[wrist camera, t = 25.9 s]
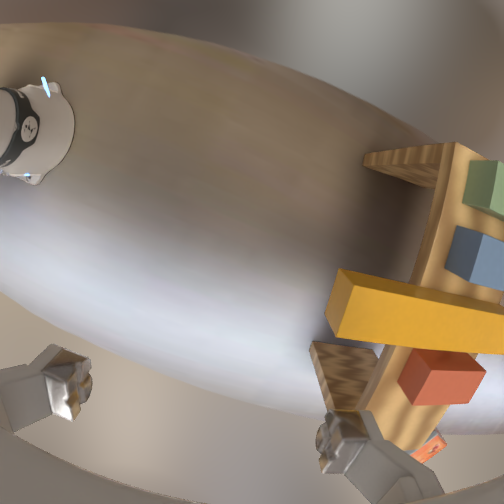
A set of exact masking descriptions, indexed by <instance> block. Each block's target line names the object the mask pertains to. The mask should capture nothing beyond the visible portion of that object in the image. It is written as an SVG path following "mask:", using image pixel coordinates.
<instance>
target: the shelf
mask: <svg viewBox="0 0 504 504" xmlns="http://www.w3.org/2000/svg"><path fill="white" fill-rule="evenodd" d="M470 160H488V159H487V158H485V157H483V156H481V155H479V154H477V153H476V152H474V151H472V150H470V149H468V148H467V147H465V146H463V145H461V144H459V143H457V142H450V143H439V144H431V145H423V146H415V147H408V148H400V149H394V150H387V151H380V152H374V153H368V154H365V156H364V161H363V165H362V166H364V167H367V168H370V169H373V170H376V171H379V172H382V173H385V174H388V175H391V176H394V177H397V178H399V179H402V180H405V181H408V182H410V183H413V184H416V185H419V186H421V187H424V188H431V189H435V193H434V197H433V201H432V206H431V210H430V214H429V218H428V222H427V225H426V229H425V233H424V236H423V240H422V243H421V247H420V250H419V253H418V257H417V260H416V263H415V266H414V269H413V273H412V276H411V279H410V281H409V284H412V285H416V286H421V287H425V288H430V289H434V290H438V291H443V292H447V293H452V294H456V295H460V296H465V297H469V298H474V299H478V300H482V301H487V302H491V303H495V304H500V301H501V299H502V296H503V293H504V292H503V291H500V290H496V289H492V288H489V287H485V286H481V285H478V284H474V283H470V282H468V281H466V280H464V279H463V278H461V277H459V276H457V275H455V274H454V273H452V272H450V271H448V270H447V269H445V268H444V267H445V264H446V261H447V258H448V254H449V251H450V248H451V244H452V241H453V237H454V233H455V230H456V226H457V225H458V226H462V227H465V228H468V229H471V230H474V231H478V232H481V233H484V234H486V235H489V236H491V237H493V238H496V239H498V240H500V241H503V242H504V222H502V221H500V220H498V219H496V218H494V217H492V216H490V215H488V214H486V213H483V212H481V211H479V210H477V209H474V208H472V207H470V206H468V205H465V204H463V203H462V200H463V196H464V191H465V186H466V181H467V176H468V170H469V164H470ZM413 348H414V347H405V346H396V345H388V344H385V347H384V349H383V351H382V353H381V356H380V358H379V359H378V357H377V356H376V354H375V353H374V351H373V350H372V349H364V348H356V347H349V346H341V345H334V344H328V343H321V342H315V341H312V343H311V346H310V349H309V352H310V355H311V359H312V362H313V365H314V368H315V372H316V375H317V378H318V381H319V385H320V388H321V391H322V395H323V398H324V401H325V405H326V408H327V411H328V410H329V409H344V410H370V411H371V412H372V414H373V416H374V418H375V420H376V422H377V425H378V427H379V429H380V431H381V433H382V435H383V438H384V440H389V441H390V442H392V443H393V444H394V445H396V446H397V447H399V448H400V449H402V450H403V451H406V450H416V449H420V448H421V447H422V446H423V444H424V443H425V441H426V440H427V439H428V437H429V436H430V434H431V433H432V432H433V430H434V429H435V427H436V426H437V424H438V423H439V421H440V420H441V418H442V417H443V415H444V413H445V412H446V410H447V409H448V407H449V405H426V406H412V405H411V403H410V402H409V400H408V398H407V397H406V395H405V394H404V392H403V391H402V389H401V387H400V386H399V384H398V383H397V381H398V379H399V377H400V375H401V373H402V371H403V369H404V367H405V364H406V362H407V360H408V358H409V356H410V354H411V352H412V350H413ZM417 349H423V348H417ZM427 350H433V349H427ZM438 351H444V350H438ZM450 352H455V351H450ZM462 353H468V352H462ZM468 354H469V355H470V356H471V357H472V358H473V359H474V360H475V359H476V357H477V355H478V353H468Z"/></svg>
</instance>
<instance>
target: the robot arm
mask: <svg viewBox="0 0 504 504" xmlns="http://www.w3.org/2000/svg"><path fill="white" fill-rule="evenodd" d="M41 79H42V82H43V85H40V86H35V85H27V86H26V87H23V88H20V89H18V90H16V89H13V88H4V87H3V88H0V174H1V173H2V172H3V173H2V174H3V175H5V176H9V175H10V176H15V177H17V178H19V179H21V180H23V181H25V182H27V183H29V184H31V185H38V184H39V183H40V182H41V181H42V179H43V178H44V176H45V174H46V173H47V172H49V171H50V170H51V169H53V168H54V167H56V166H57V165H58V164H59V163H60V162H61V161H62V159H63V158H64V156H65V155H66V153H67V151H68V149H69V147H70V145H71V142H72V138H73V134H74V115H73V111H72V108H71V106H70V104H69V103H68V101H67V100H66V99H65V98H64V97H63V95H62V92H61V88H60V85H59V84H58V83H56V82H51V83H46V80H45V78H44V77H42V78H41ZM30 176H31V178H30ZM90 369H91V360H90V359H89V358H88V357H86V356H83V355H81V354H78V353H76V352H73V351H71V350H68V349H66V348H63V347H60V346H58V345H56V344H50V345H49V346H48V347H47V348H46V349H45V350H44V351H43V352H42V353H41V354H40V355H38V356H37V357H36V358H35V359H34V360H33V361H32V362H31V363H30V364H29V365H26V364H23V365H19V366H14V367H10V368H5V369H1V370H0V504H205V503H199V502H194V501H189V500H184V499H180V498H175V497H171V496H167V495H162V494H159V493H154V492H151V491H147V490H144V489H140V488H137V487H133V486H130V485H127V484H124V483H121V482H118V481H115V480H112V479H109V478H106V477H104V476H101V475H98V474H96V473H93V472H91V471H88V470H86V469H83V468H81V467H78V466H76V465H74V464H71V463H69V462H67V461H65V460H63V459H60V458H58V457H56V456H54V455H52V454H50V453H48V452H46V451H44V450H42V449H40V448H38V447H36V446H34V445H32V444H30V443H29V442H27V441H25V440H23V439H21V438H19V437H18V436H16V435H15V434H14V432H16V431H18V430H20V429H22V428H24V427H26V426H29V425H31V424H33V423H35V422H37V421H39V420H41V419H44V418H46V417H48V416H50V415H52V413H53V414H55V415H57V416H60V417H62V418H64V419H67V420H69V421H72V422H73V421H74V420H75V418H76V417H77V415H78V414H79V412H80V410H81V407H80V404H82V403H85V402H86V401H87V400H88V398H89V396H90V393H91V390H92V377H91V375H90V374H89V370H90ZM325 420H326V422H325V423H323V424H322V425H320V427H319V429H318V432H317V435H316V449H317V451H318V452H319V453H321V454H322V455H321V456H320V458H319V462H320V467H321V472H322V473H330V474H344V475H345V476H346V477H347V478H348V479H349V481H350V482H351V483H352V484H353V485H354V486H355V487H356V488H357V489H358V490H359V491H360V492H361V493H362V494H363V496H365V498H366V499H367V500H368V501H369V502H370V503H371V504H504V474H503V475H500V476H498V477H496V478H493V479H490V480H488V481H485V482H482V483H479V484H476V485H473V486H470V487H467V488H464V489H460V490H457V491H453V492H450V493H446V494H445V493H444V491H443V489H442V487H441V485H440V483H439V481H438V479H437V477H436V475H435V473H434V471H432V470H431V469H429V468H428V467H426V466H424V465H423V464H422V463H420V462H419V461H417V460H416V459H414V458H413V457H412V456H410V455H409V454H407V453H406V452H404V451H403V450H402V449H400V448H399V447H397V446H396V445H394V444H393V443H392V442H390V441H389V440H384V438H383V435H382V433H381V431H380V429H379V427H378V425H377V422H376V420H375V418H374V416H373V414H372V412H371V411H370V410H344V409H329V410H328V411H327V413H326V415H325Z"/></svg>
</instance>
